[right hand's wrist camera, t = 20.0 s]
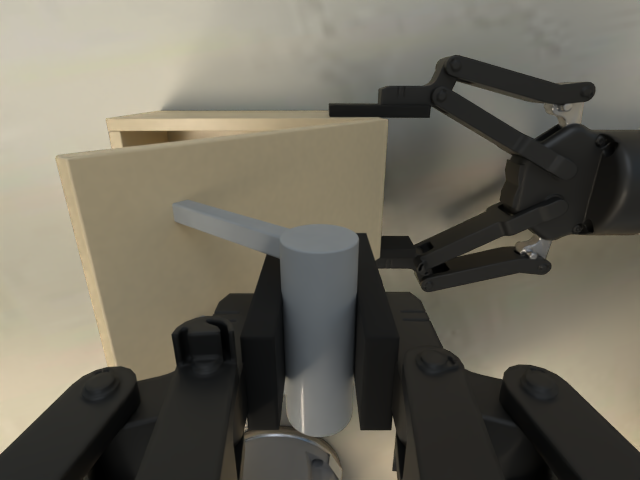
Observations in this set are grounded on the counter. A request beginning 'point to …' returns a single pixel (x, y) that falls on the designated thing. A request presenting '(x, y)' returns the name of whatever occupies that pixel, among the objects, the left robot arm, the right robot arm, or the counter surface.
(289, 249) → the lid
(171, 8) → the counter surface
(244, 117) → the chest
